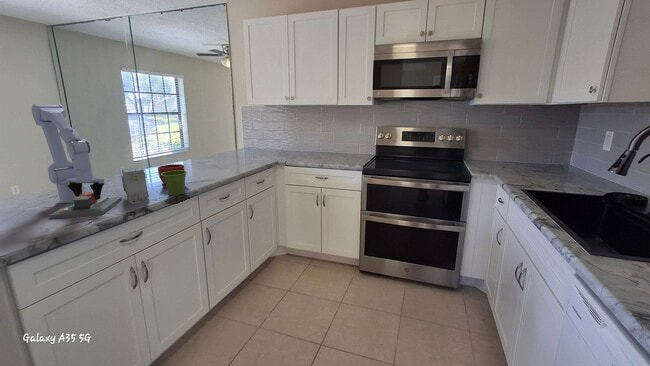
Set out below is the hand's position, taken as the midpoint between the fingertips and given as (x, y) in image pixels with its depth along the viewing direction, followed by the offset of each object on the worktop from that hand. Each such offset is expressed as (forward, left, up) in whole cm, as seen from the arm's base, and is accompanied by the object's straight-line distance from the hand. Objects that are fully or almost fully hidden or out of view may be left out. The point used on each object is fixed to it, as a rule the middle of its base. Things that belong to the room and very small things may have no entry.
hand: (89, 199), depth 126 cm
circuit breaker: (-10, +15, -4) cm, 18 cm away
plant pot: (-14, +32, -4) cm, 35 cm away
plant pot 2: (-30, +27, -4) cm, 41 cm away
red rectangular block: (0, 0, -2) cm, 2 cm away
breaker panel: (+2, 0, -4) cm, 4 cm away
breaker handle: (+5, 0, -2) cm, 5 cm away
